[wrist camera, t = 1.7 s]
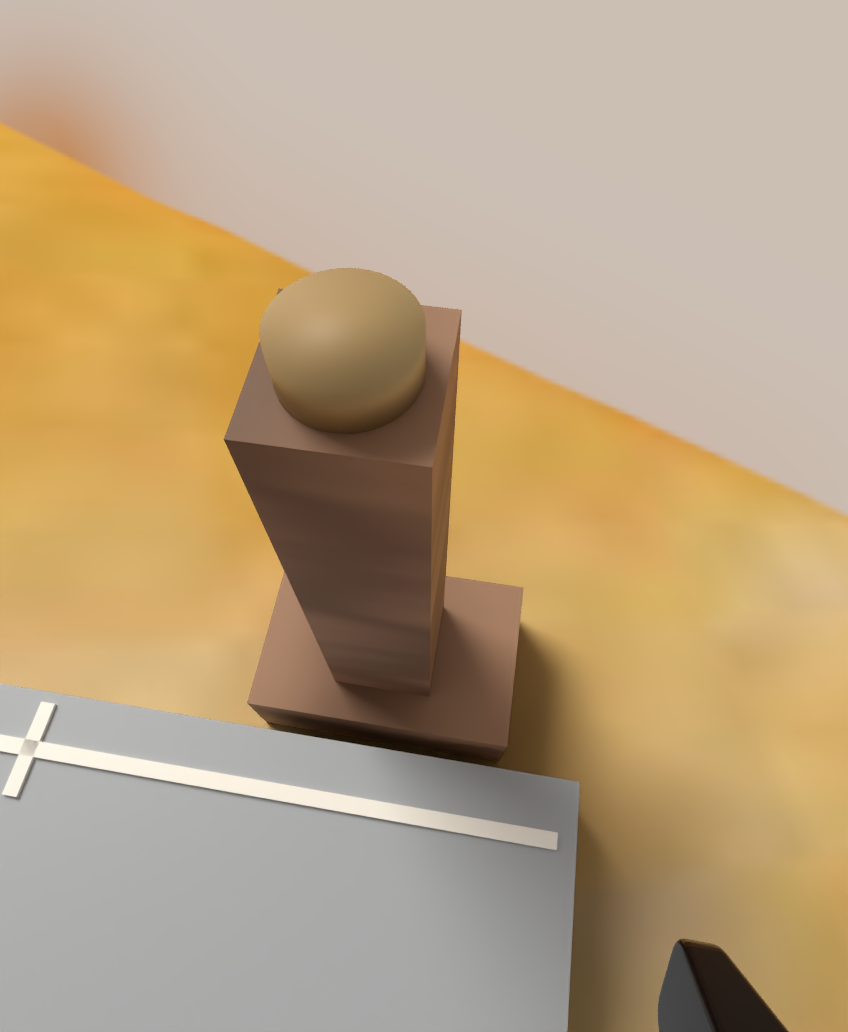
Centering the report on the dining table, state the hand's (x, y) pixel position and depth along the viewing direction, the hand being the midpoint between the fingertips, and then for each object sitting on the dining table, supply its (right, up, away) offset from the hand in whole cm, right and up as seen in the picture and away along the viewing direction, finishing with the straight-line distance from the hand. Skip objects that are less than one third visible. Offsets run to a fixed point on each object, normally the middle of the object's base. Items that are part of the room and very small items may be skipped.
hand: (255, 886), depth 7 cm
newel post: (+1, -1, +14) cm, 14 cm away
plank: (-5, -7, +10) cm, 13 cm away
